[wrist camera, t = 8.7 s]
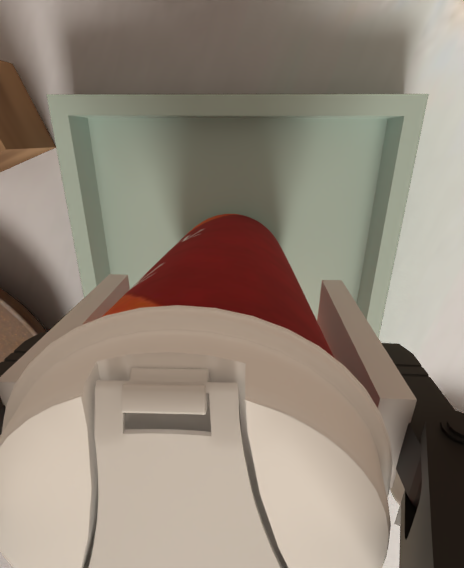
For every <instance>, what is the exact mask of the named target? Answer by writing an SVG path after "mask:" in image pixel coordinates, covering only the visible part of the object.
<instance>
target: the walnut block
mask: <svg viewBox="0 0 464 568" xmlns="http://www.w3.org/2000/svg"><path fill="white" fill-rule="evenodd" d="M53 148H56V146H55V144H54V142H53V140H52V138H51V136H50V135H49V133H48V131H47V129H46V127H45V125H44V123H43V121H42V119H41V117H40V115H39V114H38V112H37V110H36V108H35V106H34V104H33V102H32V100H31V98H30V96H29V94H28V93H27V91H26V89H25V87H24V85H23V83H22V81H21V79H20V77H19V75H18V73H17V72H16V70H15V68H14V66H13V64H11V63H8V62H5V61H1V60H0V172H2V171H4V170H6V169H9V168H11V167H13V166H15V165H17V164H20V163H22V162H24V161H26V160H29V159H31V158H33V157H35V156H38V155H40V154H42V153H44V152H47V151H49V150H51V149H53Z"/></svg>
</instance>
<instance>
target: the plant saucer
mask: <svg viewBox="0 0 464 568" xmlns="http://www.w3.org/2000/svg"><path fill="white" fill-rule="evenodd" d="M41 332H45V333H47V332H46V331H45V330H44V328H43V327H42V325H41V324H40V323H39V322H38V321H37V319H36V318H35V317H34V316H33V315H32V314H31V313H30V312H29V311H28V310H27V309H26V308H25V307H24V306H23V305H22V304H21V303H20V302H19V301H17V300H16V299H15V298H13V297H12V296H11V295H9V294H8V293H7V292H5V291H4V290H2V289H1V288H0V363H1V362H4V359H5V358H6V357H7V356H8V355H10V354H11V353H14V350H15V349H16V348H18V347H19V346H20V345H21V344H22V343H23V342H24V341H26V340H28V339H29V338H31V337H33V336H35V335H37V334H39V333H41Z"/></svg>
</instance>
